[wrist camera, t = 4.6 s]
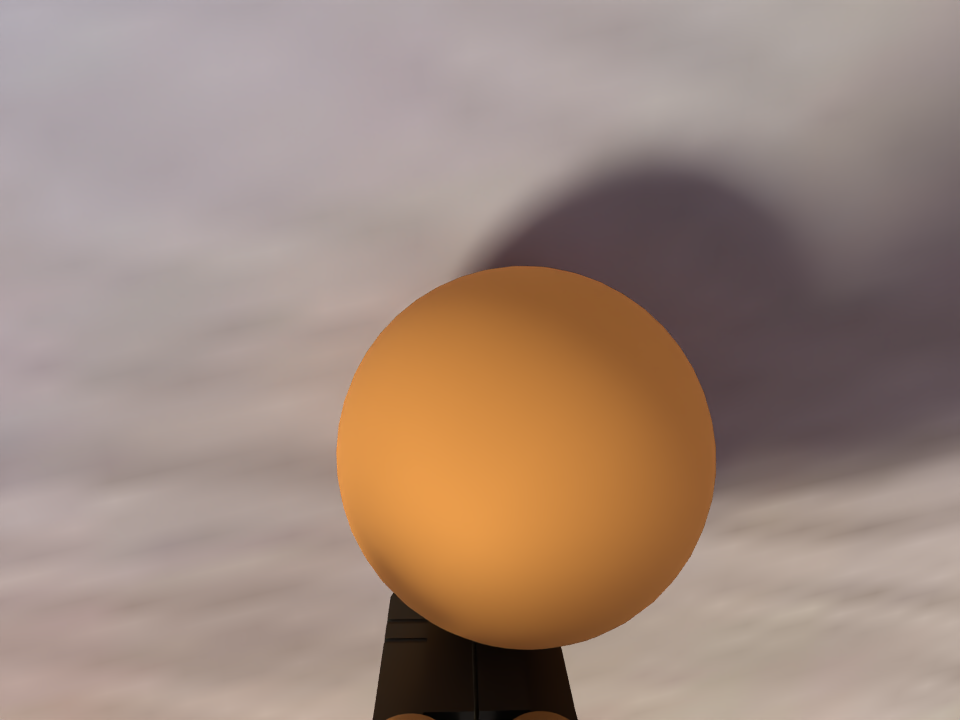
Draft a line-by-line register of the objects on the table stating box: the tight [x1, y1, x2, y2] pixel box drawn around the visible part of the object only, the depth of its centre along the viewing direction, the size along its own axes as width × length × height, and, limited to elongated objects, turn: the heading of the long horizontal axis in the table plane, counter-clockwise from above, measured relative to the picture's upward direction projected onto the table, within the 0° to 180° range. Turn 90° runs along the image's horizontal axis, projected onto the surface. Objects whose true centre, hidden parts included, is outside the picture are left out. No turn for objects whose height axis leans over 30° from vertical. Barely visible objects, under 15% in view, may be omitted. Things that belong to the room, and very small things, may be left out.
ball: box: [336, 266, 716, 650], centre depth 9 cm, size 6×6×6 cm
